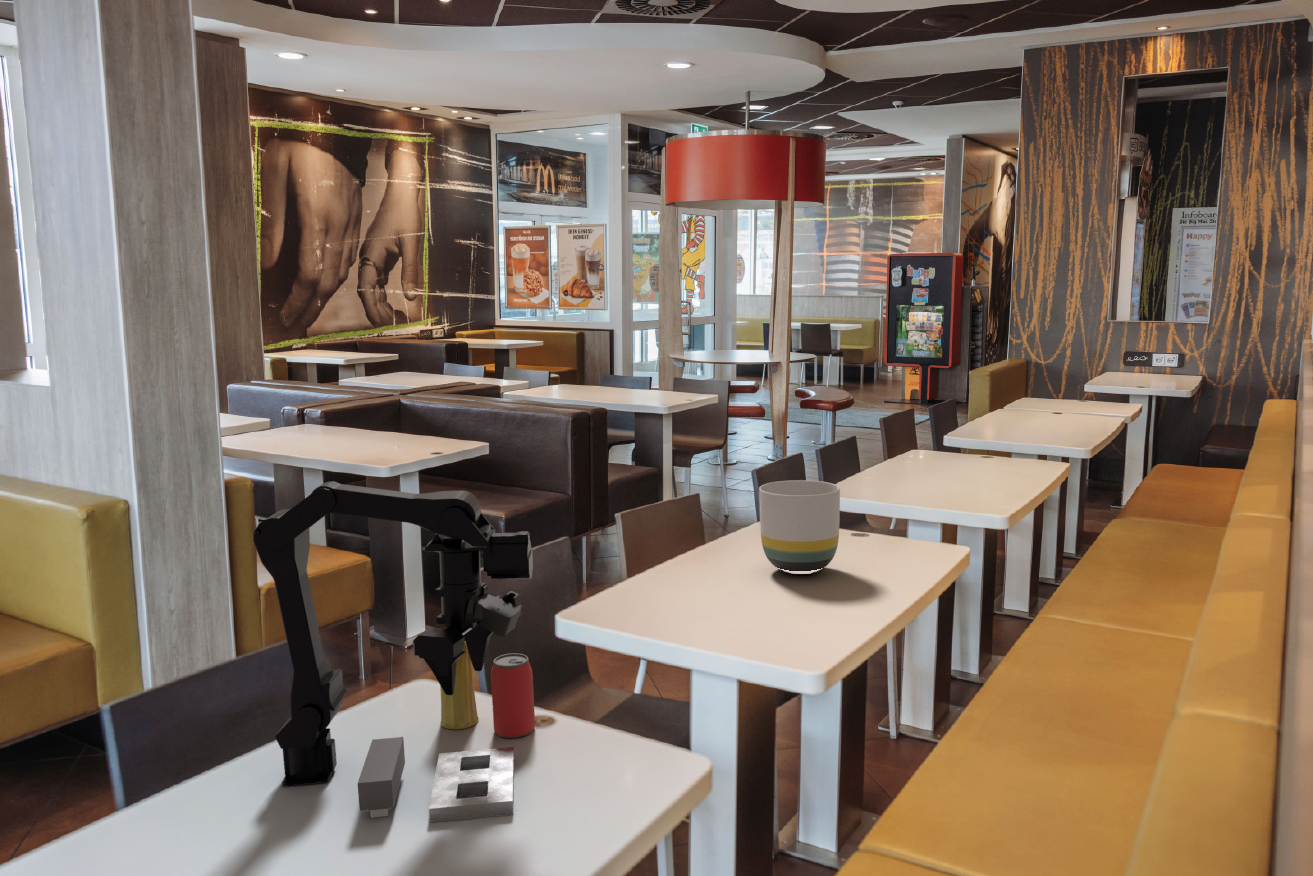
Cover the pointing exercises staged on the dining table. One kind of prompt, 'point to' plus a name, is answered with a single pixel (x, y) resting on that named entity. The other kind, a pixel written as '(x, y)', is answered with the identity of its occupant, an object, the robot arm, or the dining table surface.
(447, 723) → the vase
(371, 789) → the grey rectangular block
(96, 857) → the dining table surface
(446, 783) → the mount plate
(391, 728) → the dining table surface
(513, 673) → the beer can
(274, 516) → the robot arm
